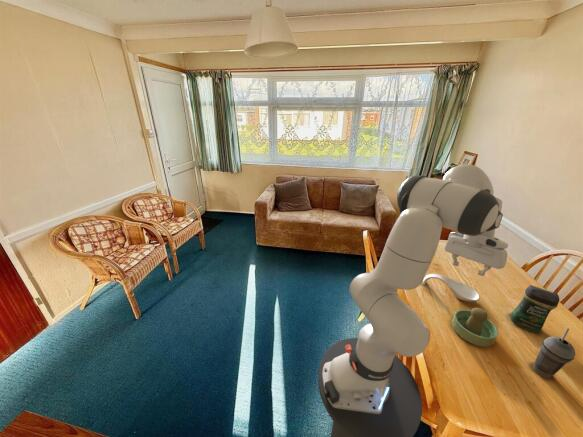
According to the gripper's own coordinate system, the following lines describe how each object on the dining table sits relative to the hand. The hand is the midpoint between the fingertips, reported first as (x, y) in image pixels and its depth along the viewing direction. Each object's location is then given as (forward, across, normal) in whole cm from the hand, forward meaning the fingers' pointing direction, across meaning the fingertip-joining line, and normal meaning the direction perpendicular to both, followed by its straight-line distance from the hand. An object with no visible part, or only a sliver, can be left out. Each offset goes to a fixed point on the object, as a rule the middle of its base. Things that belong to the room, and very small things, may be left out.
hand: (467, 270), depth 92 cm
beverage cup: (+27, +25, +12) cm, 39 cm away
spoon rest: (+19, -14, +19) cm, 30 cm away
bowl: (+25, +5, +6) cm, 27 cm away
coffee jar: (+20, +12, +31) cm, 39 cm away
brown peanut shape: (+25, +5, +6) cm, 26 cm away
